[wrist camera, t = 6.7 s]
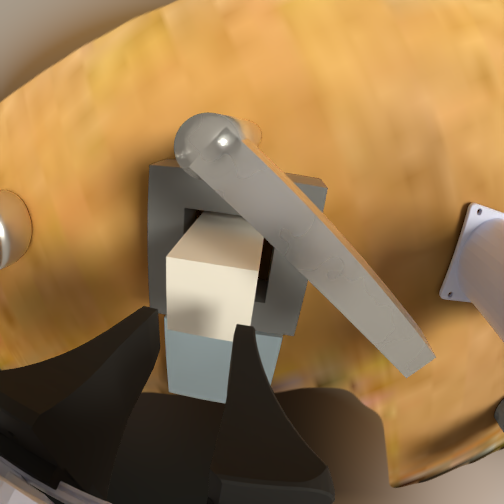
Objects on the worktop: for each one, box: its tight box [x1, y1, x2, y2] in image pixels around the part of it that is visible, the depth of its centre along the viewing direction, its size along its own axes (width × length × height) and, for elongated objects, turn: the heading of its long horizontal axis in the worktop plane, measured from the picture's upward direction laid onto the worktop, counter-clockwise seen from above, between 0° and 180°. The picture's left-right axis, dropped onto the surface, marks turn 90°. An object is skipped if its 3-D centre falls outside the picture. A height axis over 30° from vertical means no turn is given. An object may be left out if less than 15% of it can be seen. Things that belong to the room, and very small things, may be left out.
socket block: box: [148, 159, 328, 336], centre depth 19 cm, size 10×10×3 cm
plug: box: [166, 211, 264, 342], centre depth 17 cm, size 4×4×8 cm
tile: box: [164, 315, 283, 403], centre depth 25 cm, size 9×9×2 cm
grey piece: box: [174, 113, 436, 378], centre depth 14 cm, size 13×2×10 cm, turn 46°
